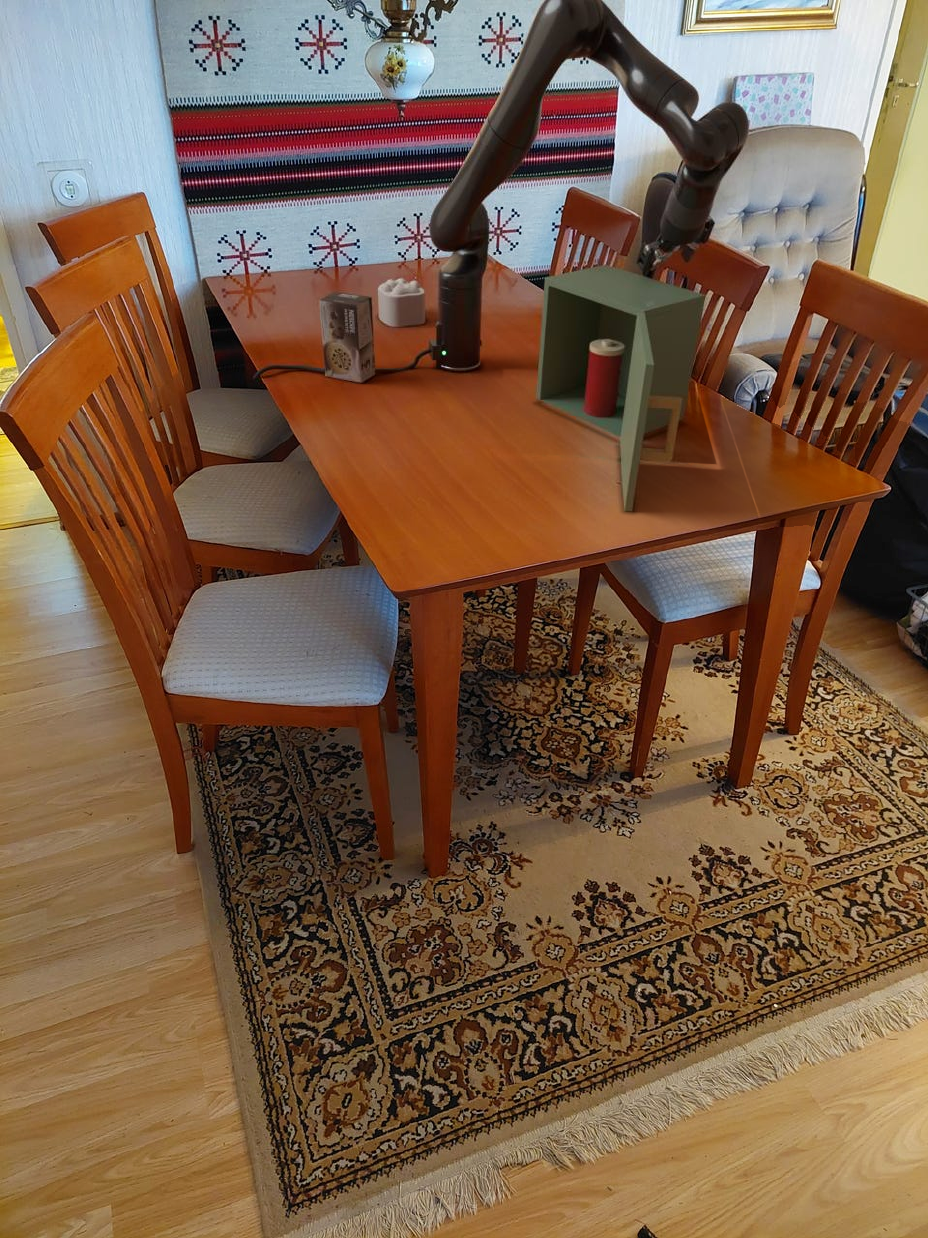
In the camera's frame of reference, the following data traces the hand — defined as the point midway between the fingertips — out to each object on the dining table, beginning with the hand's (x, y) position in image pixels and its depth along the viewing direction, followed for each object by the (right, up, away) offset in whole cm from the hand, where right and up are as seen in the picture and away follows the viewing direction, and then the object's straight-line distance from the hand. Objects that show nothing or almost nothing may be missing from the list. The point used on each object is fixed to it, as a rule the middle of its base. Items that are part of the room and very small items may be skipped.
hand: (666, 267), depth 167 cm
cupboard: (-10, -26, +6) cm, 29 cm away
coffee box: (-62, -15, +20) cm, 67 cm away
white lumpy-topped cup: (-54, +8, +52) cm, 75 cm away
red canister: (-12, -26, +4) cm, 29 cm away
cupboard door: (-8, -42, -16) cm, 46 cm away
